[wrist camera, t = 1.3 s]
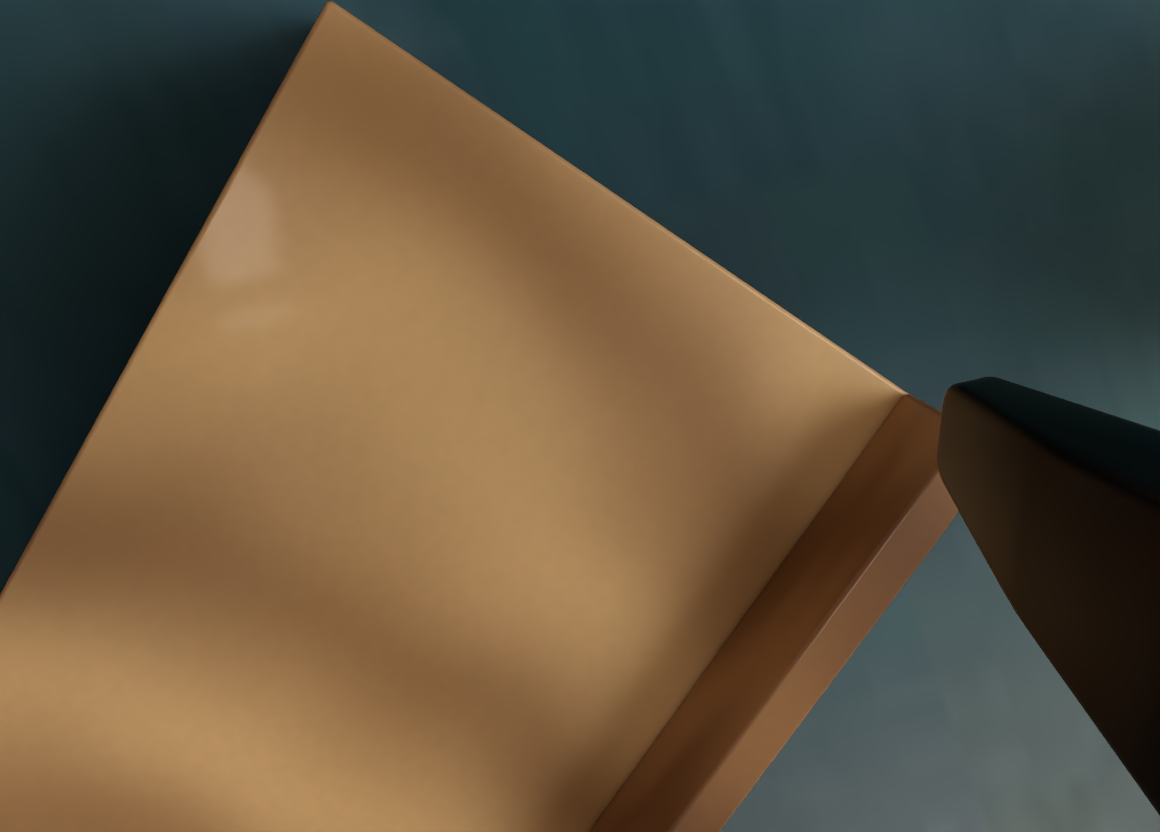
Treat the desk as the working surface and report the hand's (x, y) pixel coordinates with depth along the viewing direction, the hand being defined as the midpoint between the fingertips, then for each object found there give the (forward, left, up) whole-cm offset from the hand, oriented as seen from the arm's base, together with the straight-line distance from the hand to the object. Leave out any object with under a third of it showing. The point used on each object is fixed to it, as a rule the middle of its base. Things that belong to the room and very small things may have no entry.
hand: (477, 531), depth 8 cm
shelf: (-6, -3, -13) cm, 15 cm away
